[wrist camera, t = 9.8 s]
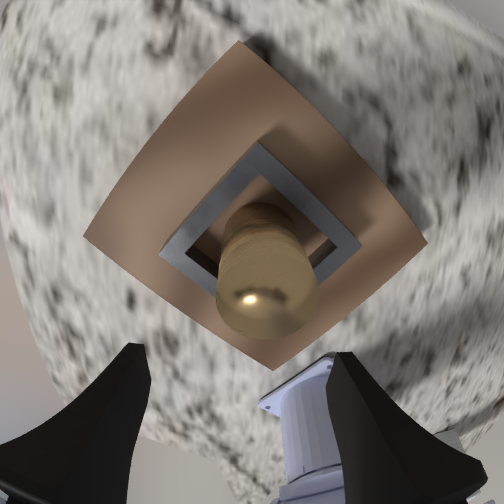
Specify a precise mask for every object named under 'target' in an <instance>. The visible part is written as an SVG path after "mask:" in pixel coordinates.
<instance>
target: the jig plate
mask: <svg viewBox="0 0 504 504" xmlns="http://www.w3.org/2000/svg"><path fill="white" fill-rule="evenodd" d="M256 140H258V141H259V142H261V143H262V144H263V145H264V146H265V147H266V148H267V149H268V150H269V151H270V152H271V153H273V154H274V155H275V156H276V157H277V158H278V159H279V160H280V161H281V162H282V163H283V164H284V165H285V166H286V167H287V168H289V169H290V170H291V171H292V172H293V173H294V174H295V175H296V176H297V177H298V178H299V179H300V180H301V181H302V182H303V183H304V184H305V185H306V186H307V187H308V188H309V189H310V190H311V191H312V192H313V193H314V194H315V195H316V196H317V197H318V198H319V199H320V200H321V201H322V202H323V203H324V204H325V205H326V206H327V207H328V208H329V209H330V210H331V211H332V212H333V213H334V214H335V215H336V216H337V217H338V218H339V219H340V220H341V221H342V222H343V223H344V224H345V225H346V227H347V228H348V229H349V230H350V231H351V232H352V233H353V234H354V235H355V236H356V238H357V239H358V240H359V242H360V243H361V244H362V246H363V247H361V248H360V249H359V250H358V251H357V252H356V253H355V254H354V255H353V256H352V257H351V258H349V259H348V260H347V261H346V262H345V263H344V264H343V265H342V266H341V267H339V268H338V269H337V270H336V271H335V272H334V273H333V274H331V275H330V276H329V277H328V278H327V279H326V280H325V281H323V282H322V283H321V284H320V285H319V289H320V299H319V304H318V307H317V310H316V312H315V314H314V315H313V317H312V318H311V319H310V320H309V322H308V323H307V324H306V325H304V326H303V327H302V328H301V329H299V330H298V331H296V332H294V333H292V334H290V335H288V336H285V337H282V338H277V339H270V340H261V339H253V338H249V337H246V336H243V335H241V334H239V333H237V332H235V331H234V330H232V329H231V328H230V327H229V326H228V325H226V324H225V322H224V321H223V320H222V318H221V316H220V315H219V312H218V310H217V306H216V298H215V297H214V296H212V295H211V294H210V293H208V292H207V291H206V290H204V289H203V288H202V287H200V286H199V285H198V284H196V283H195V282H193V281H192V280H191V279H189V278H188V277H187V276H185V275H184V274H183V273H182V272H180V271H179V270H178V269H176V268H175V267H174V266H172V265H171V264H170V263H168V262H167V261H166V260H165V259H163V258H162V257H161V256H159V255H158V254H159V252H160V250H161V248H162V246H163V244H164V243H165V241H166V240H167V239H168V238H169V237H170V235H171V234H172V233H173V232H174V231H175V230H176V228H177V227H178V226H179V225H180V224H181V223H182V221H183V220H184V219H185V218H186V217H187V216H188V214H189V213H190V212H191V211H192V210H193V209H194V208H195V206H196V205H197V204H198V203H199V202H200V201H201V200H202V199H203V197H204V196H205V195H206V194H207V193H208V192H209V191H210V190H211V188H212V187H213V186H214V185H215V184H216V183H217V182H218V181H219V180H220V179H221V177H222V176H223V175H224V174H225V173H226V172H227V171H228V170H229V169H230V168H231V167H232V166H233V165H234V163H235V162H236V161H237V160H238V159H239V158H240V157H241V156H242V155H243V154H244V153H245V152H246V151H247V150H248V149H249V148H250V147H251V146H252V144H253V143H254V142H255V141H256ZM258 202H260V203H270V204H273V205H276V206H278V207H280V208H281V209H283V210H284V211H285V212H286V213H287V214H288V215H289V216H290V217H291V219H292V221H293V222H294V225H295V227H296V230H297V232H298V234H299V237H300V239H301V242H302V244H303V246H304V249H305V251H306V254H307V256H309V255H311V254H312V253H313V252H314V251H315V250H316V249H317V248H318V247H319V246H320V245H321V244H323V243H324V242H325V241H326V240H327V239H328V237H327V236H326V235H325V234H324V233H323V232H322V231H321V230H320V229H319V228H318V227H317V226H316V225H315V224H314V223H312V222H311V221H310V220H309V219H308V218H307V217H306V216H305V215H304V214H303V213H302V212H301V211H300V210H299V209H298V208H297V207H296V206H295V205H294V204H293V203H291V202H290V201H289V200H288V199H287V198H286V197H285V196H284V195H283V194H282V193H281V192H280V191H279V190H277V189H276V188H275V187H274V186H273V185H272V184H271V183H270V182H269V181H268V180H267V179H265V178H264V177H263V176H262V175H261V174H260V173H259V174H258V175H257V176H256V177H255V178H254V179H253V180H252V181H251V182H250V183H249V184H248V185H247V186H246V187H245V188H244V189H243V191H242V192H241V193H240V194H239V195H238V196H237V197H236V198H235V199H234V200H233V201H232V202H231V203H230V204H229V205H228V206H227V207H226V209H225V210H224V211H223V212H222V213H221V214H220V215H219V216H218V217H217V218H216V219H215V220H214V221H213V222H212V224H211V225H210V226H209V227H208V228H207V229H206V230H205V231H204V232H203V233H202V234H201V236H200V237H199V238H198V239H197V240H196V241H195V242H194V243H193V245H194V246H195V247H197V248H198V249H199V250H200V251H202V252H203V253H204V254H205V255H207V256H208V257H209V258H211V259H212V260H213V261H214V262H216V263H217V264H218V265H219V266H220V258H221V250H222V242H223V234H224V229H225V225H226V223H227V221H228V220H229V218H230V217H231V215H232V214H233V213H234V212H236V211H237V210H238V209H240V208H241V207H243V206H245V205H248V204H252V203H258ZM83 237H84V238H86V239H87V240H88V241H89V242H90V243H92V244H93V245H94V246H95V247H97V248H98V249H99V250H100V251H102V252H103V253H104V254H105V255H107V256H108V257H109V258H110V259H112V260H113V261H114V262H115V263H117V264H118V265H119V266H121V267H122V268H123V269H124V270H126V271H127V272H128V273H130V274H131V275H132V276H134V277H135V278H136V279H137V280H139V281H140V282H141V283H143V284H144V285H145V286H147V287H148V288H150V289H151V290H152V291H154V292H155V293H156V294H158V295H159V296H160V297H162V298H163V299H165V300H166V301H167V302H169V303H170V304H172V305H173V306H174V307H176V308H177V309H179V310H180V311H181V312H183V313H184V314H186V315H187V316H189V317H190V318H192V319H193V320H194V321H196V322H197V323H199V324H200V325H202V326H203V327H205V328H206V329H208V330H209V331H211V332H212V333H214V334H215V335H217V336H218V337H220V338H221V339H223V340H224V341H226V342H227V343H229V344H230V345H232V346H234V347H235V348H237V349H238V350H240V351H241V352H243V353H245V354H246V355H248V356H249V357H251V358H253V359H254V360H256V361H257V362H259V363H261V364H262V365H264V366H266V367H267V368H269V369H271V370H272V371H274V370H275V369H277V368H278V367H280V366H281V365H282V364H284V363H285V362H287V361H288V360H289V359H291V358H292V357H294V356H295V355H296V354H298V353H299V352H300V351H302V350H303V349H304V348H306V347H307V346H308V345H310V344H311V343H312V342H314V341H315V340H316V339H318V338H319V337H320V336H321V335H323V334H324V333H325V332H327V331H328V330H329V329H330V328H332V327H333V326H334V325H336V324H337V323H338V322H339V321H341V320H342V319H343V318H344V317H345V316H347V315H348V314H349V313H350V312H352V311H353V310H354V309H355V308H356V307H358V306H359V305H360V304H361V303H362V302H364V301H365V300H366V299H367V298H368V297H370V296H371V295H372V294H373V293H374V292H375V291H377V290H378V289H379V288H380V287H381V286H382V285H383V284H385V283H386V282H387V281H388V280H389V279H390V278H391V277H392V276H394V275H395V274H396V273H397V272H398V271H399V270H400V269H401V268H402V267H403V266H405V265H406V264H407V263H408V262H409V261H410V260H411V259H412V258H413V257H414V256H415V255H416V254H417V253H418V252H419V251H421V250H422V249H423V248H424V247H425V246H426V245H427V244H428V243H427V241H426V240H425V238H424V237H423V235H422V234H421V233H420V231H419V230H418V228H417V227H416V226H415V224H414V223H413V221H412V220H411V219H410V217H409V216H408V215H407V213H406V212H405V211H404V209H403V208H402V207H401V206H400V204H399V203H398V202H397V200H396V199H395V198H394V196H393V195H392V194H391V193H390V191H389V190H388V189H387V188H386V186H385V185H384V184H383V183H382V182H381V180H380V179H379V178H378V177H377V175H376V174H375V173H374V172H373V171H372V169H371V168H370V167H369V166H368V165H367V164H366V162H365V161H364V160H363V159H362V158H361V157H360V156H359V154H358V153H357V152H356V151H355V150H354V149H353V148H352V147H351V145H350V144H349V143H348V142H347V141H346V140H345V139H344V138H343V137H342V136H341V135H340V133H339V132H338V131H337V130H336V129H335V128H334V127H333V126H332V125H331V124H330V123H329V122H328V121H327V120H326V119H325V118H324V117H323V116H322V115H321V114H320V113H319V112H318V111H317V110H316V109H315V108H314V107H313V106H312V105H311V104H310V103H309V102H308V101H307V100H306V99H305V98H304V97H303V96H302V95H301V94H300V93H299V92H298V91H297V90H296V89H295V88H294V87H293V86H291V85H290V84H289V83H288V82H287V81H286V80H285V79H284V78H283V77H282V76H281V75H279V74H278V73H277V72H276V71H275V70H274V69H273V68H272V67H270V66H269V65H268V64H267V63H266V62H265V61H263V60H262V59H261V58H260V57H259V56H258V55H256V54H255V53H254V52H253V51H252V50H250V49H249V48H248V47H247V46H245V45H244V44H243V43H242V42H241V41H239V40H238V41H237V42H236V43H235V44H234V45H233V46H232V47H231V48H230V49H229V50H228V51H227V52H226V53H225V54H224V55H223V56H222V57H221V58H220V59H219V60H218V61H217V62H216V63H215V64H214V65H213V66H212V67H211V68H210V69H209V70H208V71H207V72H206V74H205V75H204V76H203V77H202V78H201V79H200V80H199V81H198V82H197V83H196V84H195V85H194V87H193V88H192V89H191V90H190V91H189V92H188V93H187V94H186V95H185V97H184V98H183V99H182V100H181V101H180V102H179V103H178V105H177V106H176V107H175V108H174V109H173V111H172V112H171V113H170V114H169V115H168V116H167V118H166V119H165V120H164V121H163V123H162V124H161V125H160V126H159V127H158V129H157V130H156V131H155V132H154V134H153V135H152V136H151V138H150V139H149V140H148V141H147V143H146V144H145V145H144V147H143V148H142V149H141V151H140V152H139V153H138V155H137V156H136V157H135V159H134V160H133V161H132V163H131V164H130V165H129V167H128V168H127V170H126V171H125V172H124V174H123V175H122V177H121V178H120V179H119V181H118V182H117V184H116V185H115V187H114V188H113V190H112V191H111V193H110V194H109V196H108V197H107V199H106V200H105V202H104V203H103V205H102V206H101V208H100V209H99V211H98V212H97V214H96V216H95V217H94V219H93V220H92V222H91V224H90V225H89V227H88V229H87V230H86V232H85V233H84V235H83Z"/></svg>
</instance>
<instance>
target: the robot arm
mask: <svg viewBox="0 0 504 504" xmlns="http://www.w3.org/2000/svg"><path fill="white" fill-rule="evenodd" d="M328 365H330V366H328ZM150 386H151V376H150V371H149V367H148V362H147V358H146V353H145V348H144V344H136V343H128V344H127V345H126V346H125V347H124V348H123V349H122V350H121V351H120V353H119V354H118V355H117V356H116V357H115V358H114V359H113V361H112V362H111V363H110V364H109V365H108V366H107V367H106V368H105V370H104V371H103V372H102V373H101V374H100V375H99V376H98V377H97V378H96V379H95V380H94V381H93V382H92V383H91V384H90V385H89V386H88V387H87V388H86V389H85V390H84V391H83V392H82V393H81V394H80V395H79V396H78V397H77V398H76V399H74V400H73V401H72V402H71V403H70V404H69V405H67V406H66V407H65V408H64V409H63V410H61V411H60V412H59V413H57V414H56V415H54V416H53V417H52V418H50V419H49V420H47V421H46V422H44V423H43V424H41V425H40V426H38V427H37V428H35V429H33V430H31V431H29V432H27V433H26V434H24V435H22V436H20V437H18V438H16V439H13V440H11V441H9V442H7V443H4V444H1V445H0V489H1V490H2V491H3V492H4V493H6V494H7V495H8V496H9V497H8V500H7V501H6V500H4V499H3V498H1V497H0V504H126V500H127V490H128V480H129V473H130V467H131V460H132V455H133V451H134V447H135V443H136V440H137V436H138V433H139V430H140V426H141V423H142V420H143V416H144V413H145V410H146V406H147V403H148V397H149V392H150ZM258 406H259V407H260V408H262V409H264V410H266V411H268V412H270V413H272V414H274V415H276V416H278V417H281V428H282V438H283V449H284V459H285V470H286V481H287V485H285V486H281V487H279V493H280V498H276V499H274V500H273V501H272V502H271V503H270V504H468V502H467V500H466V498H468V497H469V496H470V495H472V494H473V493H475V492H476V491H477V490H478V489H480V488H481V487H482V486H483V485H484V484H485V483H486V482H487V480H488V477H487V475H486V472H485V470H484V468H483V465H482V463H481V461H480V460H477V459H475V458H473V457H471V456H469V455H467V454H464V453H462V452H460V451H458V450H456V449H455V448H453V447H451V446H449V445H448V444H446V443H444V442H443V441H441V440H440V439H438V438H437V437H435V436H434V435H432V434H431V433H429V432H428V431H427V430H425V429H424V428H423V427H421V426H420V425H419V424H418V423H417V422H415V421H414V420H413V419H412V418H411V417H410V416H408V415H407V414H406V413H405V412H404V411H403V410H402V409H401V408H400V407H399V406H398V405H397V404H396V403H395V402H394V401H393V400H392V399H391V398H390V397H389V396H388V395H387V394H386V392H385V391H384V390H383V389H382V388H381V387H380V386H379V384H378V383H377V382H376V381H375V380H374V379H373V377H372V376H371V375H370V374H369V373H368V371H367V370H366V369H365V368H364V366H363V365H362V364H361V363H360V361H359V360H358V359H357V358H356V356H355V355H354V354H353V353H352V352H337V353H336V356H335V359H334V360H333V359H331V358H329V357H324V358H322V359H321V360H319V361H318V362H316V363H315V364H314V365H312V366H311V367H309V368H308V369H306V370H305V371H304V372H302V373H301V374H299V375H298V376H296V377H295V378H293V379H292V380H290V381H289V382H287V383H286V384H284V385H283V386H281V387H280V388H278V389H277V390H275V391H274V392H272V393H271V394H269V395H267V396H266V397H264V398H263V399H261V400H259V401H258ZM484 504H495V502H494V500H490V501H488V502H486V503H484Z"/></svg>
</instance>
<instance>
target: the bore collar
mask: <svg viewBox="0 0 504 504" xmlns="http://www.w3.org/2000/svg"><path fill="white" fill-rule="evenodd" d="M259 173H260V174H261V175H262V176H263V177H264V178H265V179H267V180H268V181H269V182H270V183H271V184H272V185H273V186H274V187H275V188H276V189H277V190H279V191H280V192H281V193H282V194H283V195H284V196H285V197H286V198H287V199H288V200H289V201H290V202H291V203H293V204H294V205H295V206H296V207H297V208H298V209H299V210H300V211H301V212H302V213H303V214H304V215H305V216H306V217H307V218H308V219H309V220H310V221H311V222H312V223H314V224H315V225H316V226H317V227H318V228H319V229H320V230H321V231H322V232H323V233H324V234H325V235H326V236H327V237H328V239H327V240H326V241H325V242H324V243H323V244H321V245H320V246H319V247H318V248H317V249H316V250H315V251H314V252H313V253H312V254H311V255H309V256H308V259H309V261H310V264H311V266H312V269H313V271H314V274H315V276H316V279H317V282H318V285H320V284H321V283H322V282H323V281H325V280H326V279H327V278H328V277H329V276H330V275H331V274H333V273H334V272H335V271H336V270H337V269H338V268H339V267H341V266H342V265H343V264H344V263H345V262H346V261H347V260H348V259H349V258H351V257H352V256H353V255H354V254H355V253H356V252H357V251H358V250H359V249H360V248H361V247H363V246H362V244H361V243H360V242H359V240H358V239H357V238H356V236H355V235H354V234H353V233H352V232H351V231H350V230H349V229H348V228H347V227H346V225H345V224H344V223H343V222H342V221H341V220H340V219H339V218H338V217H337V216H336V215H335V214H334V213H333V212H332V211H331V210H330V209H329V208H328V207H327V206H326V205H325V204H324V203H323V202H322V201H321V200H320V199H319V198H318V197H317V196H316V195H315V194H314V193H313V192H312V191H311V190H310V189H309V188H308V187H307V186H306V185H305V184H304V183H303V182H302V181H301V180H300V179H299V178H298V177H297V176H296V175H295V174H294V173H293V172H292V171H291V170H290V169H289V168H287V167H286V166H285V165H284V164H283V163H282V162H281V161H280V160H279V159H278V158H277V157H276V156H275V155H274V154H273V153H271V152H270V151H269V150H268V149H267V148H266V147H265V146H264V145H263V144H262V143H261V142H259V141H258V140H256V141H255V142H254V143H253V144H252V146H251V147H250V148H249V149H248V150H247V151H246V152H245V153H244V154H243V155H242V156H241V157H240V158H239V159H238V160H237V161H236V162H235V163H234V165H233V166H232V167H231V168H230V169H229V170H228V171H227V172H226V173H225V174H224V175H223V176H222V177H221V179H220V180H219V181H218V182H217V183H216V184H215V185H214V186H213V187H212V188H211V190H210V191H209V192H208V193H207V194H206V195H205V196H204V197H203V199H202V200H201V201H200V202H199V203H198V204H197V205H196V206H195V208H194V209H193V210H192V211H191V212H190V213H189V214H188V216H187V217H186V218H185V219H184V220H183V221H182V223H181V224H180V225H179V226H178V227H177V228H176V230H175V231H174V232H173V233H172V234H171V235H170V237H169V238H168V239H167V240H166V241H165V243H164V244H163V246H162V248H161V250H160V252H159V254H158V255H159V256H161V257H162V258H163V259H165V260H166V261H167V262H168V263H170V264H171V265H172V266H174V267H175V268H176V269H178V270H179V271H180V272H182V273H183V274H184V275H185V276H187V277H188V278H189V279H191V280H192V281H193V282H195V283H196V284H198V285H199V286H200V287H202V288H203V289H204V290H206V291H207V292H208V293H210V294H211V295H212V296H214V297H215V298H216V291H217V282H218V274H219V265H218V264H217V263H216V262H214V261H213V260H212V259H211V258H209V257H208V256H207V255H205V254H204V253H203V252H202V251H200V250H199V249H198V248H197V247H195V246H194V245H193V243H194V242H195V241H196V240H197V239H198V238H199V237H200V236H201V234H202V233H203V232H204V231H205V230H206V229H207V228H208V227H209V226H210V225H211V224H212V222H213V221H214V220H215V219H216V218H217V217H218V216H219V215H220V214H221V213H222V212H223V211H224V210H225V209H226V207H227V206H228V205H229V204H230V203H231V202H232V201H233V200H234V199H235V198H236V197H237V196H238V195H239V194H240V193H241V192H242V191H243V189H244V188H245V187H246V186H247V185H248V184H249V183H250V182H251V181H252V180H253V179H254V178H255V177H256V176H257V175H258V174H259Z"/></svg>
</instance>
